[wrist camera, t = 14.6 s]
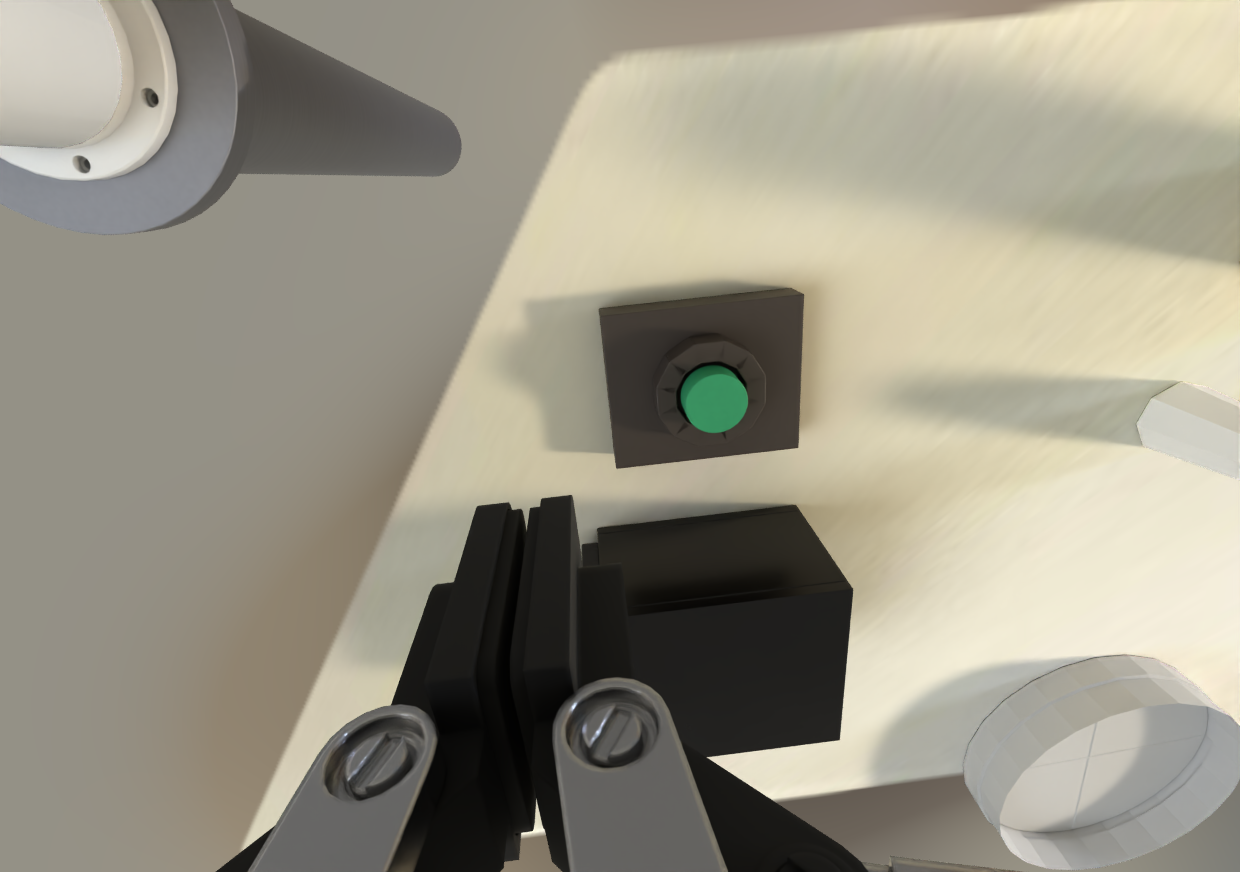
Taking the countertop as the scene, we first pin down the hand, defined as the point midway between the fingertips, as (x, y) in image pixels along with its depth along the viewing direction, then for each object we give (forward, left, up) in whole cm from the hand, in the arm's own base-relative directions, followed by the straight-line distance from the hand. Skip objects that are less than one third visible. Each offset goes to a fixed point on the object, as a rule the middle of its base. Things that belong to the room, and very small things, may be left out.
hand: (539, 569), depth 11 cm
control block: (+6, +8, -27) cm, 29 cm away
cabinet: (+23, +8, -27) cm, 36 cm away
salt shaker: (+13, +42, -27) cm, 52 cm away
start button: (+6, +8, -23) cm, 26 cm away
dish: (+47, +43, -27) cm, 69 cm away
